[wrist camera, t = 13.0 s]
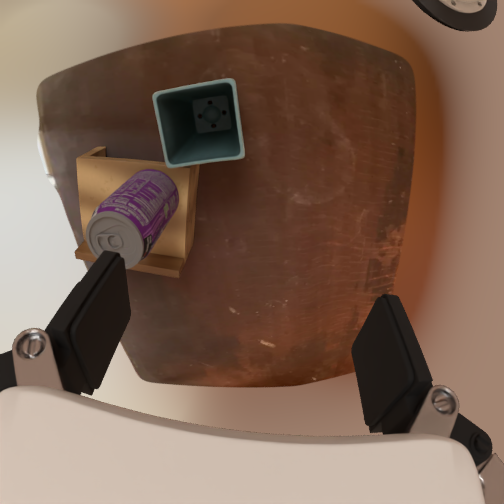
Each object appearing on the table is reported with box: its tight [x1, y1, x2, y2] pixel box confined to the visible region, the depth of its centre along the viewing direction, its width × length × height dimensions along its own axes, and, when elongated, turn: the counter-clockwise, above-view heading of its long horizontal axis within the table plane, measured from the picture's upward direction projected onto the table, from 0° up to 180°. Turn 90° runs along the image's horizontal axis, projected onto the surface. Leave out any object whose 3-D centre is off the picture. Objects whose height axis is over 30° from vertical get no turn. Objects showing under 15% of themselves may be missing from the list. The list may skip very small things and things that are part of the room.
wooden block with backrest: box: [75, 147, 200, 278], centre depth 40 cm, size 14×16×9 cm
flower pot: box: [153, 78, 245, 168], centre depth 33 cm, size 9×9×9 cm
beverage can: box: [86, 169, 179, 269], centre depth 32 cm, size 7×7×12 cm
